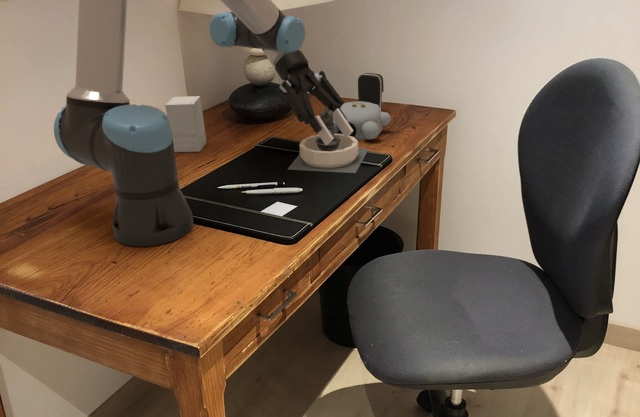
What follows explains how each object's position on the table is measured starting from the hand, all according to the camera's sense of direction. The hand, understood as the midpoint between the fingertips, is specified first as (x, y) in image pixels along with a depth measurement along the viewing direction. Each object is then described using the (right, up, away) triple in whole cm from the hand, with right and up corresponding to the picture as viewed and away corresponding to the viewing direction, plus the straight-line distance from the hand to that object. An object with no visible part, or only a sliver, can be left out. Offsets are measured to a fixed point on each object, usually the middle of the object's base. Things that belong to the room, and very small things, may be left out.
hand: (339, 137), depth 154 cm
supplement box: (-38, -1, +18) cm, 42 cm away
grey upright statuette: (-3, -4, +5) cm, 6 cm away
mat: (-2, -5, +5) cm, 7 cm away
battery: (+10, +11, +39) cm, 41 cm away
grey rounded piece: (+5, +3, +21) cm, 22 cm away
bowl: (-2, -4, +5) cm, 7 cm away
